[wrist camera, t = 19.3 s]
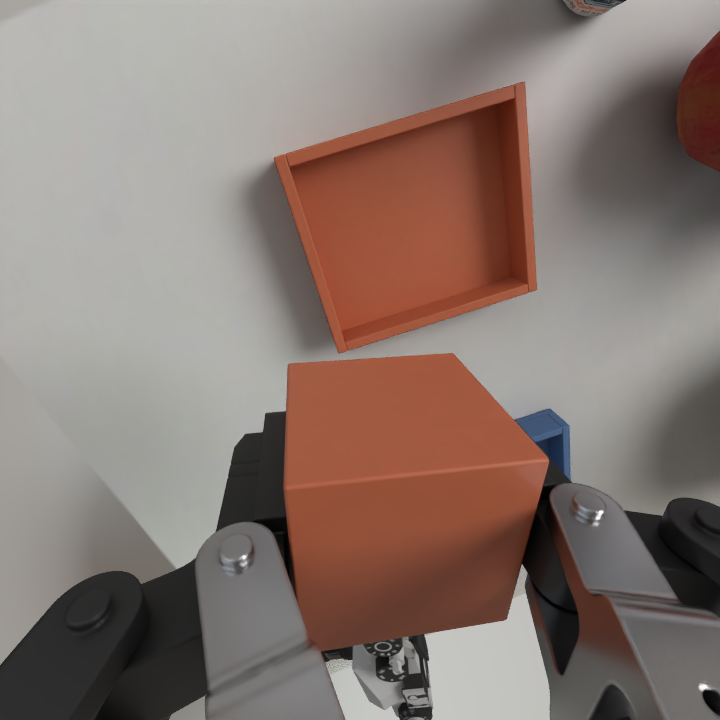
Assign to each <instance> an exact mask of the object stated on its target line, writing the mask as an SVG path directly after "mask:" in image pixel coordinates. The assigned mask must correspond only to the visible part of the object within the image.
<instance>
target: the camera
mask: <svg viewBox="0 0 720 720" xmlns="http://www.w3.org/2000/svg"><path fill="white" fill-rule="evenodd" d="M321 654H322V656H323V659H324V661H325V662H328V661H330V660H332V659H342V658H343V659H344V660H346V659H347V660H353V662H352V669H353V671H354V673H355V675H356V677H357V679H358V681H359V683H360V685H361V686H362V688H363V690H364V692H365V694H366V696H367V698H368V700H369V701H370V702H372V703H373V704H375V705H377V706H378V707H380V708H382V709H383V710H386V709H387V708H389V707H390V706H392V708H393V709H394V712H395V714H396V716H397V717H399V718H400V720H431V719H432V709H433V703H432V694H431V686H430V678H429V671H428V664H427V661H428V660H429V657H428V649H427V644H426V640H425V637H424V634H421V635H415V636H409V637H403V638H397V639H391V640H385V641H379V642H373V643H367V644H361V645H355V646H350V647H344V648H338V649H332V650H326V651H321Z"/></svg>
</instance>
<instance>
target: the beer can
mask: <svg viewBox="0 0 720 720" xmlns="http://www.w3.org/2000/svg"><path fill="white" fill-rule="evenodd" d="M624 1H626V0H564V2H565V4H566V5H567V7H569V8H570V9H571V10H572V11H574V12H575V13H577V14H579V15H582V16H598V15H601V14H603V13H605V12H607V11H609V10H610V9H611V8H613V7H615V6H617V5H619V4H620V3H622V2H624Z"/></svg>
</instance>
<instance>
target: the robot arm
mask: <svg viewBox="0 0 720 720" xmlns="http://www.w3.org/2000/svg"><path fill="white" fill-rule="evenodd" d="M514 421H515V420H514ZM515 422H516V421H515ZM516 423H517V422H516ZM517 424H518V423H517ZM518 425H519V424H518ZM519 426H520V425H519ZM285 427H286V411H284V412H272V413H266V414H265V421H264V429H263V432H261V433H250V434H245V435H244V436H243V438H242V439H241V440H240V441H239V442H238V444H237V445H236V446H235V447H234V452H233V456H232V461H231V466H230V470H229V475H228V479H227V484H226V488H225V493H224V497H223V502H222V507H221V511H220V516H219V520H218V525H217V529H216V532H215V533H214V534H213V535H212V536H211V537H209V538H208V539H207V540H206V542H205V543H204V544H203V545H202V547H201V548H200V550H199V552H198V554H197V557H196V558H195V559H194V560H193V561H191V562H190V563H188V564H186V565H185V566H183V567H181V568H179V569H177V570H175V571H173V572H170V573H168V574H165V575H163V576H161V577H158V578H156V579H153V580H151V581H148V582H146V583H143V584H140V582H139V580H138V579H137V578H136V577H135V576H134V575H132V574H130V573H127V572H123V571H111V572H106V573H101V574H98V575H95V576H92V577H90V578H88V579H86V580H84V581H82V582H80V583H78V584H77V585H75V586H73V587H72V588H71V589H69V590H68V591H67V592H65V593H64V594H63V595H62V596H61V597H60V598H58V599H57V600H56V601H55V602H54V604H53V605H52V606H51V607H50V608H49V609H48V610H47V611H46V613H45V614H44V615H43V616H42V617H41V618H40V620H39V621H38V622H37V623H36V624H35V625H34V626H33V628H32V629H31V630H30V631H29V633H27V635H26V636H25V637H24V638H23V639H22V641H21V642H20V643H19V644H18V645H17V646H16V648H15V649H14V650H13V651H12V652H11V653H10V654H9V656H8V657H7V658H6V659H5V660H4V662H3V663H2V664H1V665H0V720H169V718H170V716H171V714H173V713H174V712H176V711H178V710H180V709H182V708H183V707H185V706H187V705H189V704H190V703H192V702H194V701H196V700H198V699H199V698H201V697H203V696H205V695H206V694H207V695H206V697H205V718H206V720H345V717H344V714H343V712H342V709H341V706H340V703H339V700H338V698H337V695H336V692H335V689H334V686H333V684H332V681H331V678H330V675H329V672H328V670H327V667H326V664H325V661H324V659H323V656H322V654H321V651H320V649H319V647H318V645H317V644H316V642H315V641H313V642H312V640H311V639H310V637H309V634H308V632H307V629H306V626H305V623H304V620H303V617H302V614H301V611H300V609H299V606H298V603H297V600H296V597H295V591H294V582H293V573H292V564H291V555H290V546H289V537H288V527H287V518H286V509H285V500H284V491H283V481H284V454H285ZM520 427H521V426H520ZM521 428H522V427H521ZM522 430H523V431H524V429H523V428H522ZM524 432H525V431H524ZM525 433H526V432H525ZM526 434H527V433H526ZM529 437H530V436H529ZM530 438H531V437H530ZM531 439H532V438H531ZM532 441H533V442H534V443H535V444H536V442H535V441H534V440H533V439H532ZM536 445H537V444H536ZM539 448H540V447H539ZM540 449H541V448H540ZM541 450H542V449H541ZM542 452H543V453H544V454H545V455H546V456H547V454H546V453H545V452H544V451H543V450H542ZM547 457H548V456H547ZM548 459H549V464H548V468H547V472H546V476H545V479H544V483H543V487H542V490H541V494H540V498H539V501H538V505H537V509H536V513H535V516H534V520H533V524H532V527H531V531H530V535H529V539H528V542H527V546H526V550H525V553H524V557H523V561H522V564H523V566H524V568H525V569H526V571H527V573H528V574H527V578H526V581H525V590H526V595H527V599H528V602H529V606H530V610H531V614H532V618H533V622H534V626H535V630H536V634H537V638H538V642H539V646H540V650H541V654H542V657H543V662H544V666H545V670H546V674H547V677H548V682H549V689H550V720H720V507H719V506H716V505H714V504H711V503H709V502H706V501H702V500H698V499H693V498H677V499H674V500H672V501H670V502H669V504H668V506H667V508H666V510H665V512H664V514H663V516H660V515H652V514H645V513H638V512H631V511H624V510H623V509H622V507H621V506H620V505H619V504H618V503H617V502H616V501H615V500H614V499H612V498H611V497H610V496H608V495H607V494H605V493H603V492H601V491H599V490H597V489H595V488H593V487H590V486H587V485H583V484H577V483H572V482H571V481H570V480H569V478H568V477H567V476H566V475H565V474H564V473H563V472H562V471H561V470H560V469H559V468H558V466H557V465H556V464H555V463H554V462H553V461H552V460H551V459H550V458H549V457H548Z"/></svg>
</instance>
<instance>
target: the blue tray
mask: <svg viewBox="0 0 720 720" xmlns="http://www.w3.org/2000/svg"><path fill="white" fill-rule="evenodd" d="M515 421H516V422H517V423H518V424H519V425H520V426H521V427H522V428H523V429H524V431H525V432H526V433H527V435H528V436H530V437H531V438H532V439H533V440H534V441H535V442H536V444H537V446H538V447H540V448H541V449H542V450H543V451H544V452H545V453H546V454H547V456H548V457H549V458H550V459H551V460H552V461H553V462H554V463H555V464H556V465H557V466H558V468H559V469H560V470H561V471H562V472H563V473H564V474H565V475H566V476H567V477H568V478H569V480H570V481H571V479H570V430H569V425H568V424H567V423H566V422H565V421H564V420H563V419H561V418H560V417H559V416H558V415H557V414H556V413H555V412H553V411H552V410H551V409H547V410H544V411H541V412H538V413H535V414H532V415H529V416H526V417H523V418H520V419H517V420H515Z"/></svg>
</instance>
